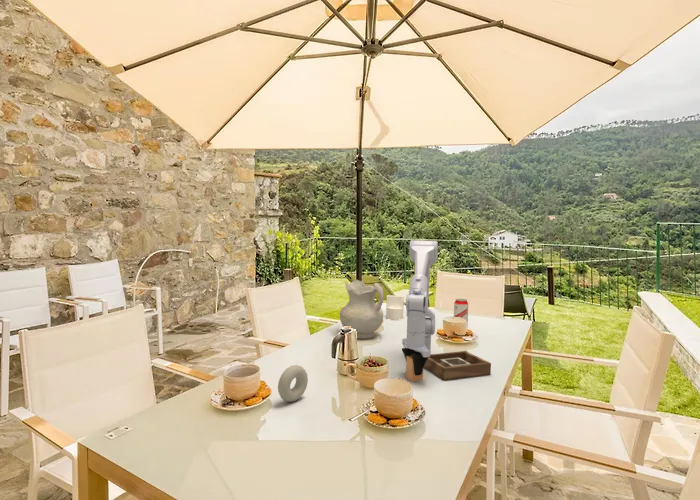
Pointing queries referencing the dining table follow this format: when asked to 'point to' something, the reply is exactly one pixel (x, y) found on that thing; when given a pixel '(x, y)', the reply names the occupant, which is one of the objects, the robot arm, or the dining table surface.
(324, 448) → the dining table surface
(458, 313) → the beer can
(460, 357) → the box
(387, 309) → the base with upright slab
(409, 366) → the plug
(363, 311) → the ceramic pitcher
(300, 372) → the donut
